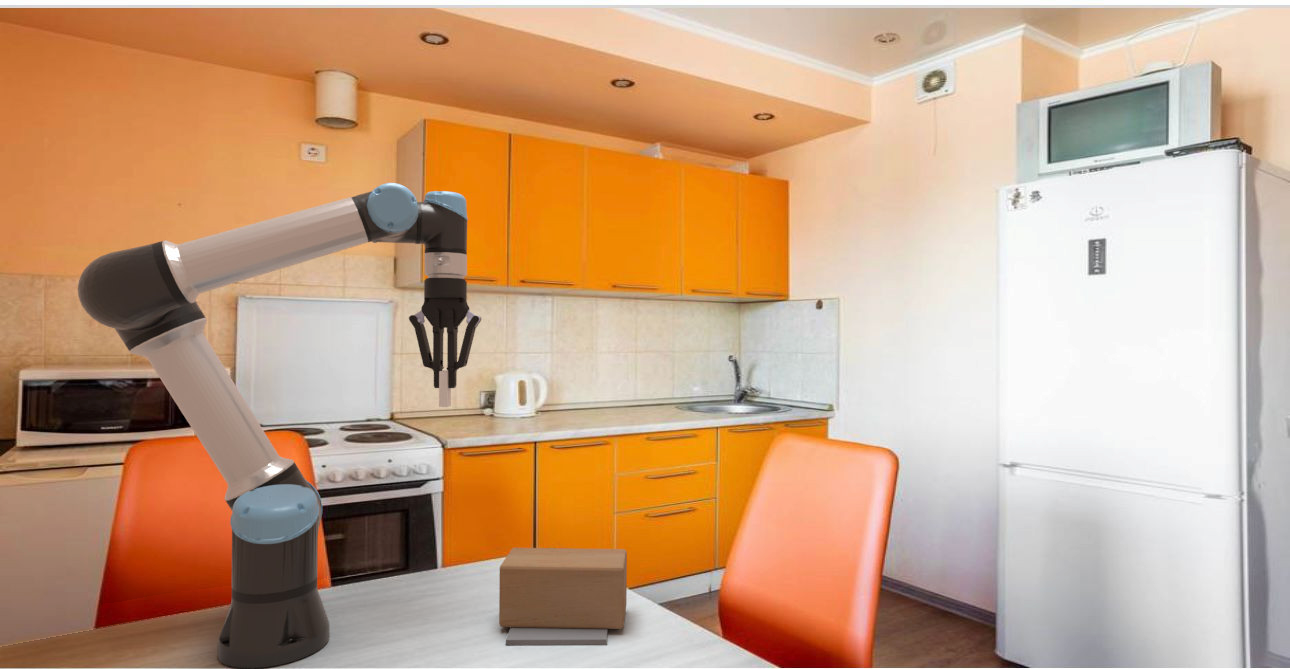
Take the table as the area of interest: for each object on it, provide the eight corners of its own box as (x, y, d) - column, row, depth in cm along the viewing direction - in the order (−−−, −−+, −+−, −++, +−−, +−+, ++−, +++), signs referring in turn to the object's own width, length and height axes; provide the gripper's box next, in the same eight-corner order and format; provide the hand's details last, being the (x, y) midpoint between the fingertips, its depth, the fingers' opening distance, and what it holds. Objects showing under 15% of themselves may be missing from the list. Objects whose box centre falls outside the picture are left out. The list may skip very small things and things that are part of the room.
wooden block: (511, 604, 125) (626, 606, 124) (498, 628, 115) (623, 630, 114) (511, 546, 125) (626, 548, 124) (498, 565, 115) (623, 567, 114)
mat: (505, 645, 110) (505, 639, 110) (524, 596, 130) (524, 592, 130) (606, 644, 111) (606, 639, 111) (609, 596, 131) (609, 592, 131)
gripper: (403, 275, 128) (402, 408, 128) (477, 276, 128) (476, 408, 128) (415, 278, 135) (415, 403, 135) (485, 279, 135) (484, 404, 136)
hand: (445, 406), depth 132 cm, fingers closed
